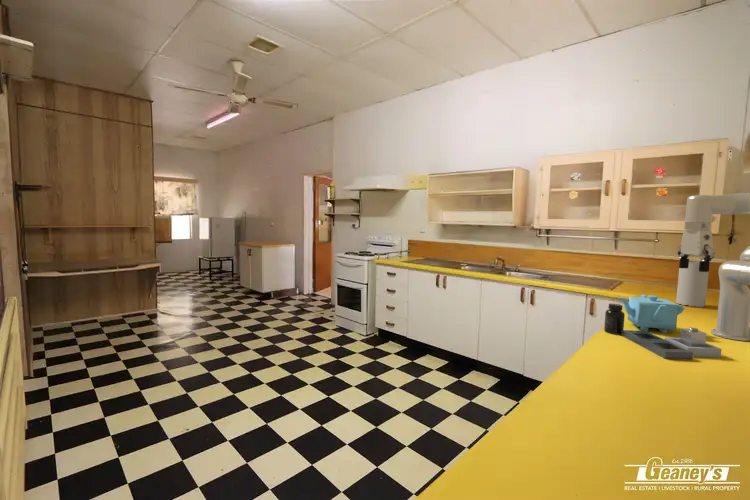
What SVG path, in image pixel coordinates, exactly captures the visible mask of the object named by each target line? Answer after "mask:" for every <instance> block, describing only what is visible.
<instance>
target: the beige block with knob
mask: <svg viewBox="0 0 750 500" xmlns="http://www.w3.org/2000/svg"><path fill="white" fill-rule="evenodd" d="M679 338H680V343H681V344H684V345H686V346H688V347H705V344H706V343H707V332H705V331H702V330H699V329H698V328H696V327H689V328H683V327H682V328H680V334H679Z"/></svg>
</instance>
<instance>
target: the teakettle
mask: <svg viewBox="0 0 750 500" xmlns="http://www.w3.org/2000/svg"><path fill="white" fill-rule="evenodd" d="M617 298H618V299H619V300H620V301H622V303H623V306H624V309H625V312H626V314H627V320H628V321H629V322H631V323H632V324H633V325H634V326H636V327H640V328H639V331H647V332H648V331H649V328H652V329H658V332H660V333H665V334H667V333H669V332H668V330H675V331H676V330H677V326H678V325H677V324H678V322H677V321H678V316H679V315H680V314H682V313H683V312H684V310H685V307H684V306H683V305H679V304H677V303H675V302H673V301H671V300H668V299H666V298H659V297H658V296H657V295H648V296H647V295H645V294H640V297H639V296H629V299H627V298H625V297H621V296H620V297H619V296H617Z"/></svg>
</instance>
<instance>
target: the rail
mask: <svg viewBox="0 0 750 500" xmlns="http://www.w3.org/2000/svg"><path fill="white" fill-rule="evenodd" d="M621 336H622V337H623V338H625V339H628V340H629V341H631V342H633V343H634V344H636V345H638V346H640V347H642V348H644V349H646V350H648V351H649V352H652V353H654V354H655V355H656V356H659V357H662V358H663V359H665V360H666V359H667V360H689V361H690V360H691V361H693V358H694V356H693V352H691V351H688V350H686V349H684V348H682V347H680V346H677V345H675V344H673V343H671V342H669V341H666V340H665V338H662V337H660V336H658V335H655V334H653V333H651V332H648V331H643V330H633V329H632V330H631V329H630V330H629V329H627V330H626V329H624V330H622V334H621Z"/></svg>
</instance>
